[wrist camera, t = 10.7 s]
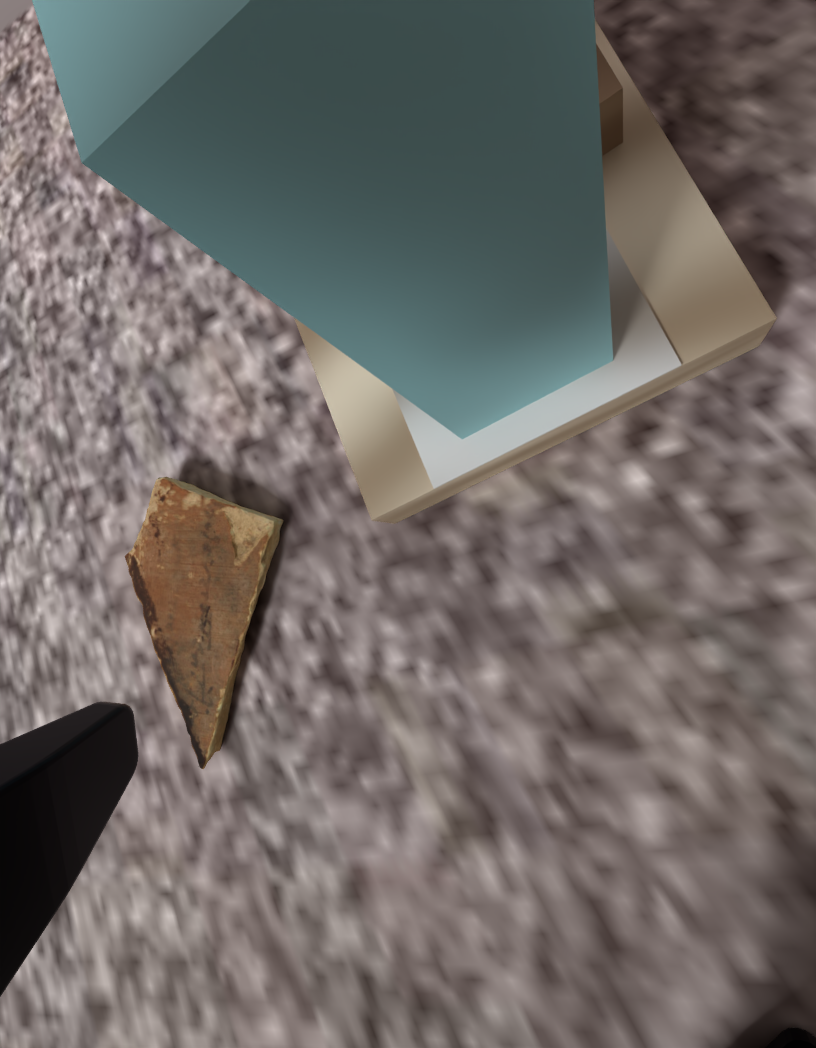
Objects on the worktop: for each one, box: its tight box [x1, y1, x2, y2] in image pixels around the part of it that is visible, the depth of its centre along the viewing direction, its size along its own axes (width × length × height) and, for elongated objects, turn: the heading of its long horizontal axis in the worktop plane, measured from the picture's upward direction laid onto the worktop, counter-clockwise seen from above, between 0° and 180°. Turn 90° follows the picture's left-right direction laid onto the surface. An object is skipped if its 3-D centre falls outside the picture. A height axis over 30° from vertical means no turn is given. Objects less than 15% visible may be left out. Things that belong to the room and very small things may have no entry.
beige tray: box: [294, 20, 777, 524], centre depth 18 cm, size 22×13×4 cm, turn 23°
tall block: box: [32, 0, 613, 439], centre depth 11 cm, size 5×5×13 cm
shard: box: [125, 477, 283, 769], centre depth 23 cm, size 11×8×2 cm
